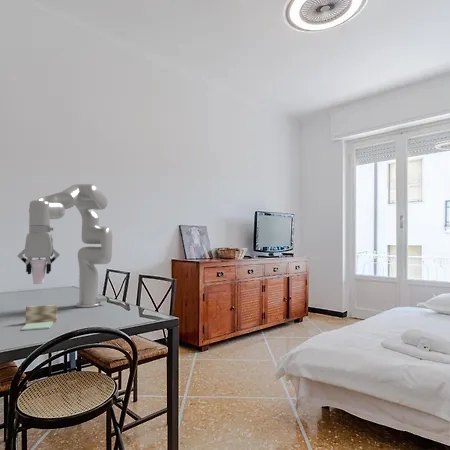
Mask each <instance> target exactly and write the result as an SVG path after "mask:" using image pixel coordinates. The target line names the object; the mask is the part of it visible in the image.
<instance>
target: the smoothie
mask: <svg viewBox="0 0 450 450" xmlns="http://www.w3.org/2000/svg"><path fill="white" fill-rule="evenodd" d="M30 264H31V274H32V282H33V284H34V285H41V284H44V282H45V277H46V276H45V275H46V264H47V260H46V258H45V259H43V258H35V259H32V260H30Z"/></svg>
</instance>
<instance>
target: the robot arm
mask: <svg viewBox="0 0 450 450" xmlns="http://www.w3.org/2000/svg"><path fill="white" fill-rule="evenodd" d="M107 206H108V198H107V196H106V195H105V194H104V192H103V191H102V190H101V189H100V188H99V187H97V185H94V184H92V183H84V184H83V183H80V184H79V183H78V184H77V183H76V184H72V185H70V186H69V187H67V188H65V189H64V190H62V191H59V192H56V193H53V194H50V195H46V196H43V197H40V198H38V199H36V200H34V199H33V200H31V201H30V202H29V206H28V207H29V208H28V215H29V217H28V218H29V219H28V233H27V234H26V238H25V244H24V248H23V250H22V251H20V252H19V253H18V254H17V257H18V258H19V259H20V260H21V261H22V262H23V263H24V264H25V266H26V267H25V268H26V269H25V273H27V275H31V274H32V268H31V263H30V260H33V258H34V259H39V258H40V259H43V258H45V259H46V260H47V262H46V269H45V275H46V274H47V275H48V274H50V272H52V264H53V263H54V262H55V261H56V260H57V258H59V257H60V253H59V252H58V251H57V250H56V249H54V241H53V240H54V239H53V235H52V234H53V233H50V232H54V227H51V226H50V223H51V221H50V220H59V219H61V218H63V217H65V214H66V210H67V209H72V208H73V207H76V209H77V210H78V212H79V214H80V215H81V223H82V224H81V241H82V243H83V244H85V245H100V246H83V247H81V248H79V249H78V251H77V260H78V261H77V263H78V269H79V270H78V272H79V273H78V274H79V275H78V277H79V279H78V282H79V283H78V284H79V285H78V291H79V292H78V300H79V301H78V302H77V303H75V307H77V308H93V307H94V308H95V307H98V306H101V305H102V302H107V297H100V296H99V271H98V268H97V266H96V265H107V264H109V263H110V262H111V261H112V255H113V254H112V252H113V233H112V230H111V228H109V227H108V226H99V224H100V223H99V220H100V217H99V215H98V214H97V212H96V211H98V210H102V211H103V210H105V209H106V208H107ZM53 255H54V256H53ZM24 256H25V257H24Z"/></svg>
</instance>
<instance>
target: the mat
mask: <svg viewBox="0 0 450 450" xmlns="http://www.w3.org/2000/svg"><path fill="white" fill-rule="evenodd" d="M53 324H54V322H39V323H27V324H25V325H23V327H21V329H20V331H21V332H22V331H23V330H24V331H36V330H38V331H39V330H47V329H48V330H49V329H51V326H52V325H53Z"/></svg>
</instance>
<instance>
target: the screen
mask: <svg viewBox="0 0 450 450" xmlns="http://www.w3.org/2000/svg"><path fill="white" fill-rule="evenodd" d="M39 322H53V323H56V322H58V304H49V305H46V304H45V305H29V306H28V305H27V306H26V307H25V322H24V324H25V325H26V324H27V323H39Z"/></svg>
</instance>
